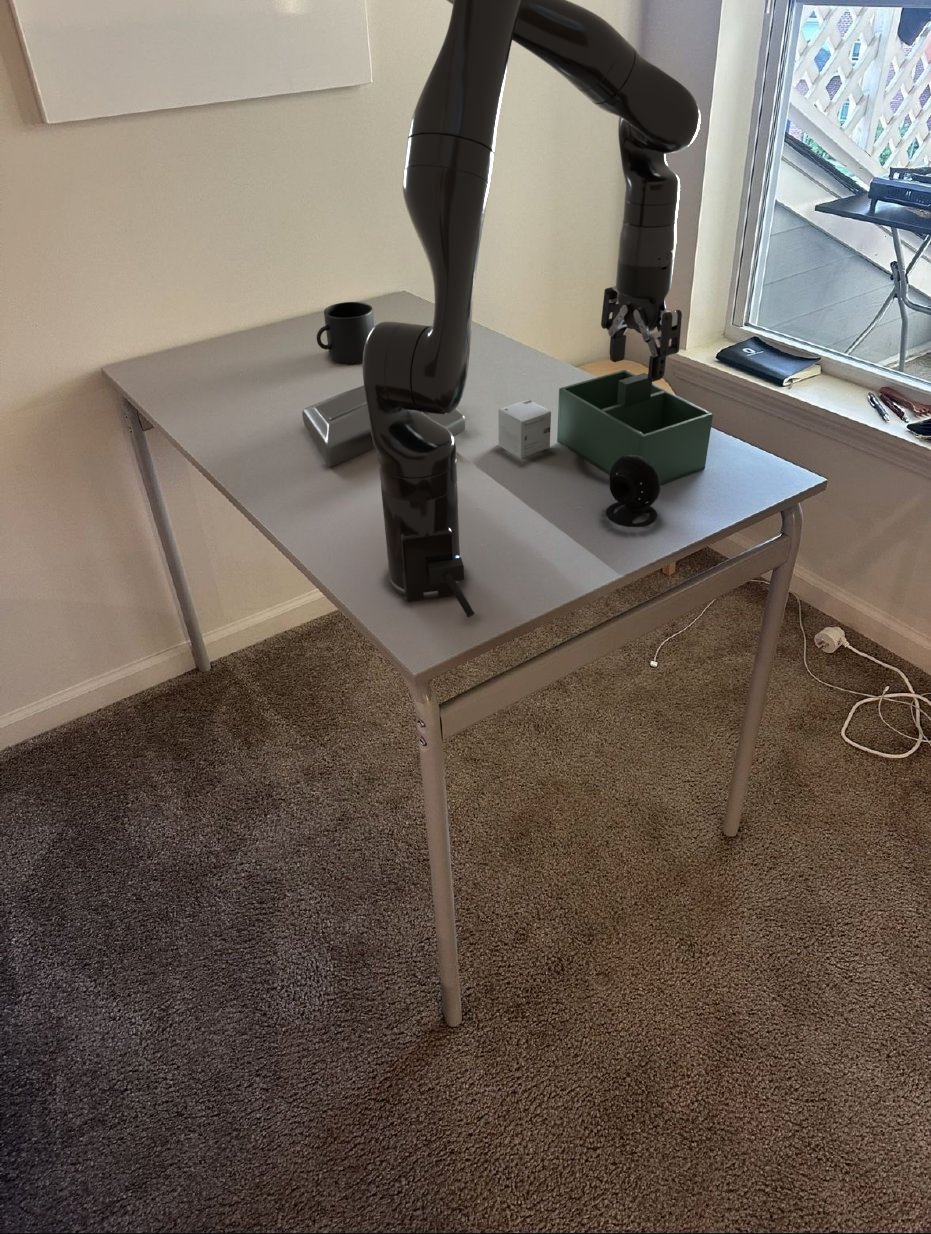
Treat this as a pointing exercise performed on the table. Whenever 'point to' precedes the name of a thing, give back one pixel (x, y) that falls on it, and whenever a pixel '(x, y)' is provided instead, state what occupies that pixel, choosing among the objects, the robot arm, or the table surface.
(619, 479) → the webcam
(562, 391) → the bin
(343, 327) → the mug
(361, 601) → the table surface
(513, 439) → the product carton
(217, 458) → the table surface
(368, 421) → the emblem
